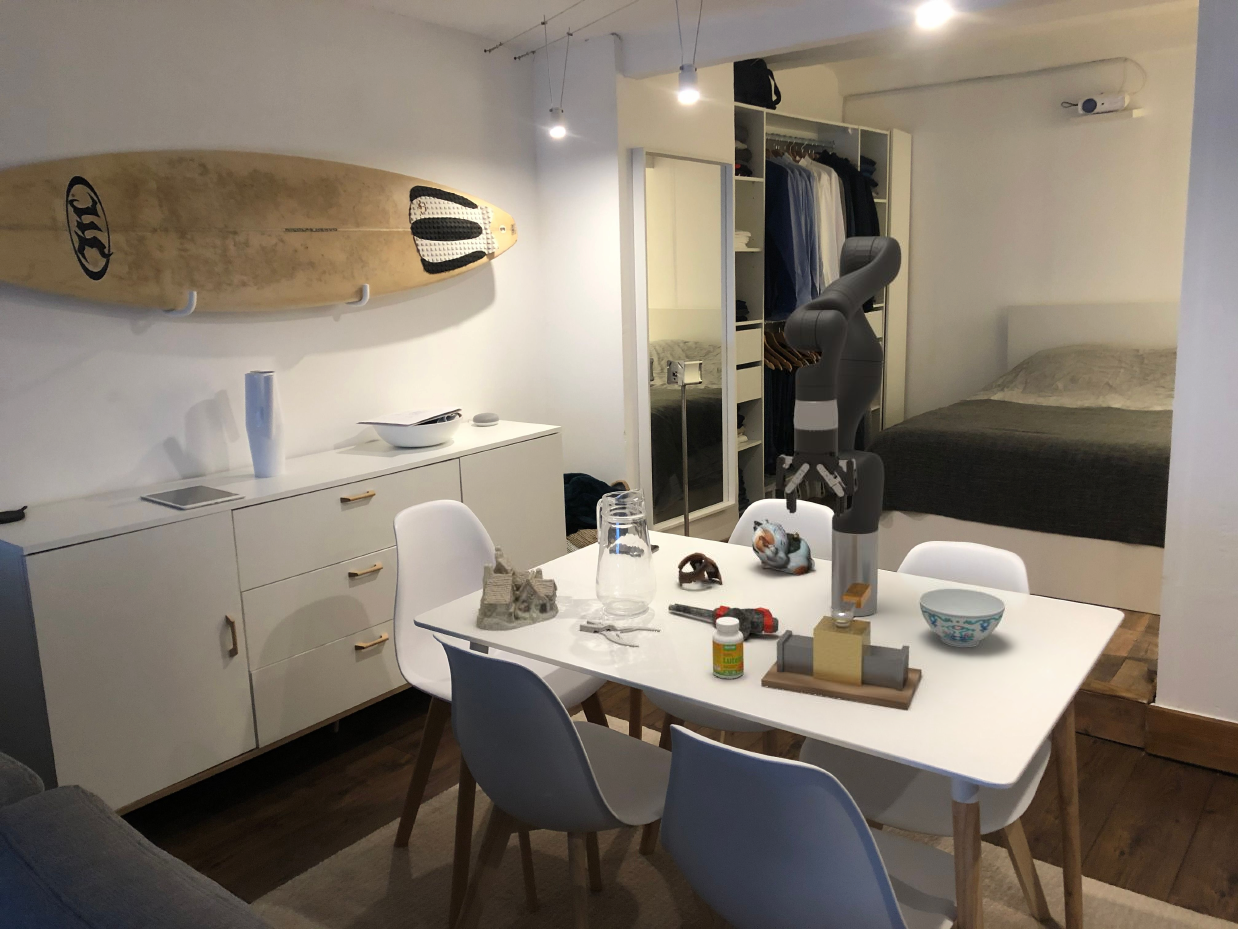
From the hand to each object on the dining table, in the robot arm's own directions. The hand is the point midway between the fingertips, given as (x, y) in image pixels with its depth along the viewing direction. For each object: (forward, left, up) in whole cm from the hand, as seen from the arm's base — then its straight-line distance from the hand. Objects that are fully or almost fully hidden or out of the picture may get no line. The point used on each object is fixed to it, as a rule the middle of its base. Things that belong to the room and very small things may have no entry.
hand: (815, 514), depth 169 cm
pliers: (+5, -39, -27) cm, 47 cm away
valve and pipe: (+12, +8, -26) cm, 29 cm away
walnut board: (+12, +8, -26) cm, 29 cm away
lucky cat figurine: (-46, -20, -26) cm, 57 cm away
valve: (-9, -20, -27) cm, 34 cm away
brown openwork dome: (-30, -35, -26) cm, 53 cm away
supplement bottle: (+16, -11, -26) cm, 32 cm away
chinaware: (-14, +24, -26) cm, 38 cm away
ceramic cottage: (+5, -62, -26) cm, 68 cm away
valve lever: (+5, +8, -15) cm, 18 cm away
